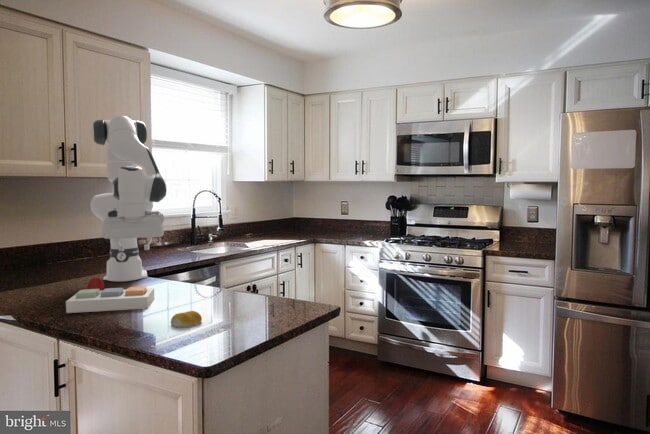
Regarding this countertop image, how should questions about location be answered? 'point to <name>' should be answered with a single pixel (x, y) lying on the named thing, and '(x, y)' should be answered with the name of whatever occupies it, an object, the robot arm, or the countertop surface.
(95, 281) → the onion
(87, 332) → the countertop surface
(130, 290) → the key terracotta
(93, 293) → the key sage
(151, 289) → the keypad
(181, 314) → the bread roll
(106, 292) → the key slate
